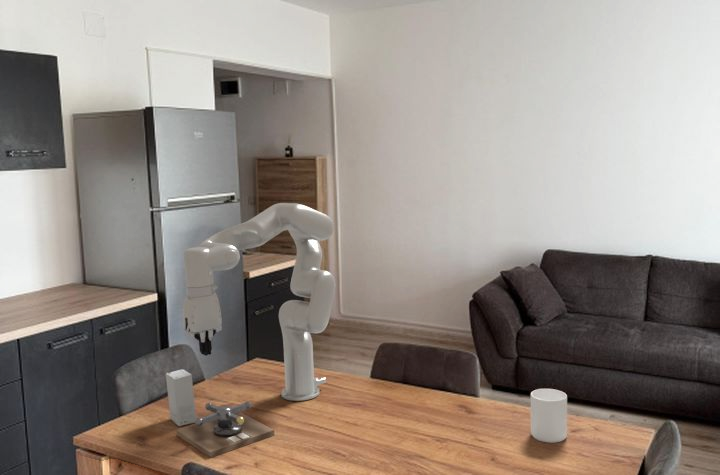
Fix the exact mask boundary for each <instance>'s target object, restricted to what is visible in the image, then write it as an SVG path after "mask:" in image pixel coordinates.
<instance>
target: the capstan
mask: <svg viewBox="0 0 720 475" xmlns="http://www.w3.org/2000/svg"><path fill="white" fill-rule="evenodd" d="M204 408H205V410H206V411H209V412H211V414H208V415H205V416H202V417H198V418H197V417H196V421H195V423H194V425H195V424H196V425H197V426H201V425H202V424H205V423H208V422H211V421H214V420H217V422H218V424H217V425H215V426H214V428H213V430H214V434H215V435H217V436H221V437H228V436H233V435H236V434H239V433H240V432H241V431H242V424H243V423H244V418H243V417H240V416H238V415H236V414H234V413H237V412H241V411H245V410H249V409H251V408H252V403H251V402H250V401H249V400H248V401H245V402H243V403H240V404H238V405H234V406H230V405H220V406H217V405H215V404H213V403H212V402H207V403H206V404H205V406H204Z"/></svg>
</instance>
